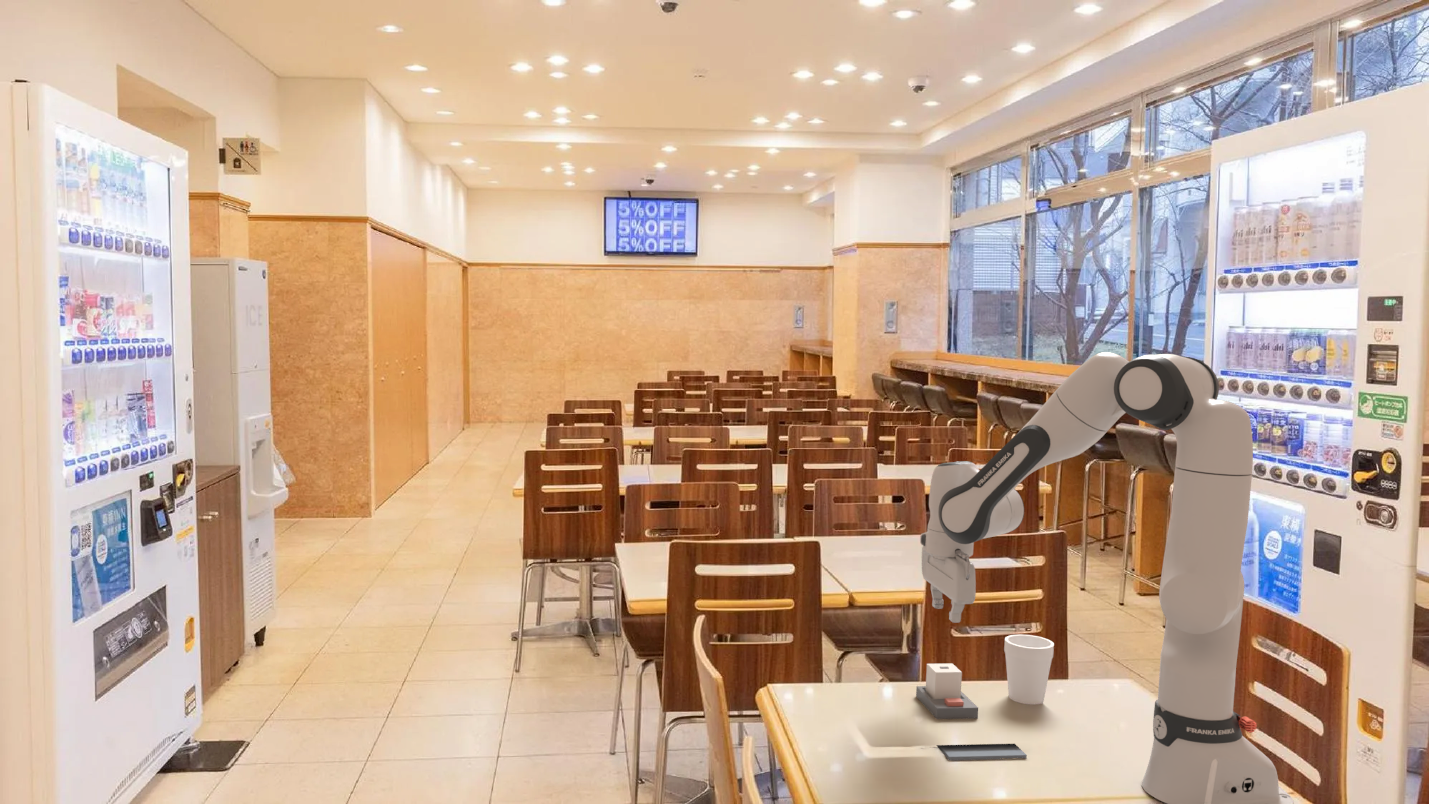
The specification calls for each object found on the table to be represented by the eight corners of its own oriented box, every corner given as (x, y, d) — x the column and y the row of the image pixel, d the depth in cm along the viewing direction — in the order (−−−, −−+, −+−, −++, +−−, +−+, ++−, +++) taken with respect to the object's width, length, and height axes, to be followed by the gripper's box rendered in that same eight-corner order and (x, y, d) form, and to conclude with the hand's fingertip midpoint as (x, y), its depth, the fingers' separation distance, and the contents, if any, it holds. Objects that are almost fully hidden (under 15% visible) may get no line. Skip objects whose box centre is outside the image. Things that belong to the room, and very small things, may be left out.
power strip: (954, 702, 207) (955, 681, 207) (977, 725, 195) (978, 703, 195) (915, 703, 206) (916, 682, 205) (936, 726, 194) (937, 704, 194)
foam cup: (1056, 703, 208) (1059, 640, 207) (1043, 717, 200) (1047, 651, 199) (1008, 693, 213) (1012, 631, 212) (995, 706, 205) (998, 642, 204)
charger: (950, 698, 205) (952, 662, 205) (960, 707, 200) (961, 671, 200) (925, 698, 204) (926, 662, 204) (934, 708, 199) (935, 671, 199)
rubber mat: (998, 731, 192) (999, 728, 192) (1026, 758, 180) (1026, 754, 180) (926, 733, 191) (926, 729, 190) (948, 760, 179) (949, 756, 179)
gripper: (986, 556, 190) (982, 630, 191) (947, 533, 210) (943, 600, 211) (953, 556, 189) (949, 630, 190) (917, 533, 210) (913, 600, 211)
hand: (945, 614), depth 201 cm, fingers open, 8 cm apart
